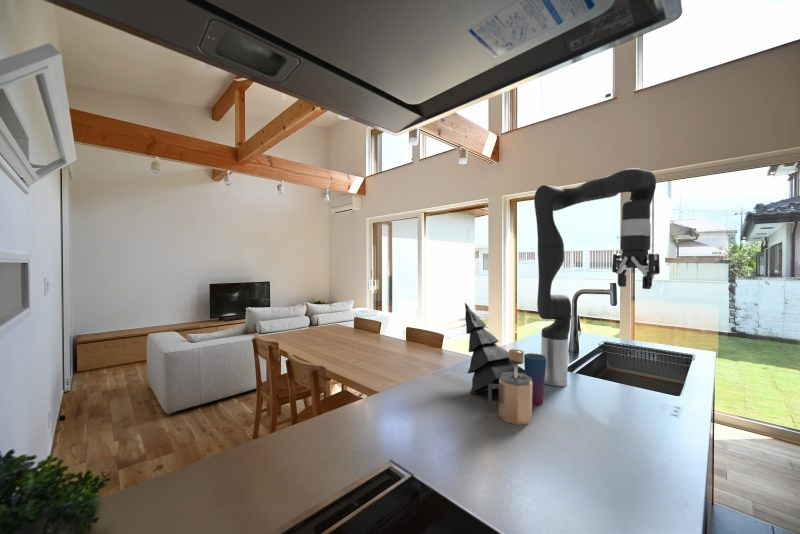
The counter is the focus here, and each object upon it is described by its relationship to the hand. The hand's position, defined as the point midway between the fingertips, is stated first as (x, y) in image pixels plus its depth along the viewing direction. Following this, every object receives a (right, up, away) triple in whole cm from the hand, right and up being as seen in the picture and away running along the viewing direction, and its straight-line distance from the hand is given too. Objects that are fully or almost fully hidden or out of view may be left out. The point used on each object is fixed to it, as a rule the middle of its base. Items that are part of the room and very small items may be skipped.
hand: (633, 287), depth 103 cm
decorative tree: (-41, -38, +16) cm, 58 cm away
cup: (-28, -38, +6) cm, 48 cm away
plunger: (-38, -36, -5) cm, 53 cm away
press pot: (-39, -38, -5) cm, 55 cm away
